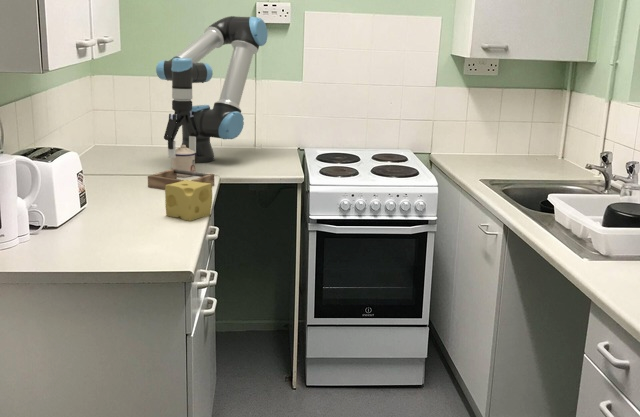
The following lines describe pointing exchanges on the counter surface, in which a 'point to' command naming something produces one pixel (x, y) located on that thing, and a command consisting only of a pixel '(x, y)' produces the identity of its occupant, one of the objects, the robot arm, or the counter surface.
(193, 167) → the teacup with lid
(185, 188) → the cheese
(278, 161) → the counter surface
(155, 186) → the wooden tray
